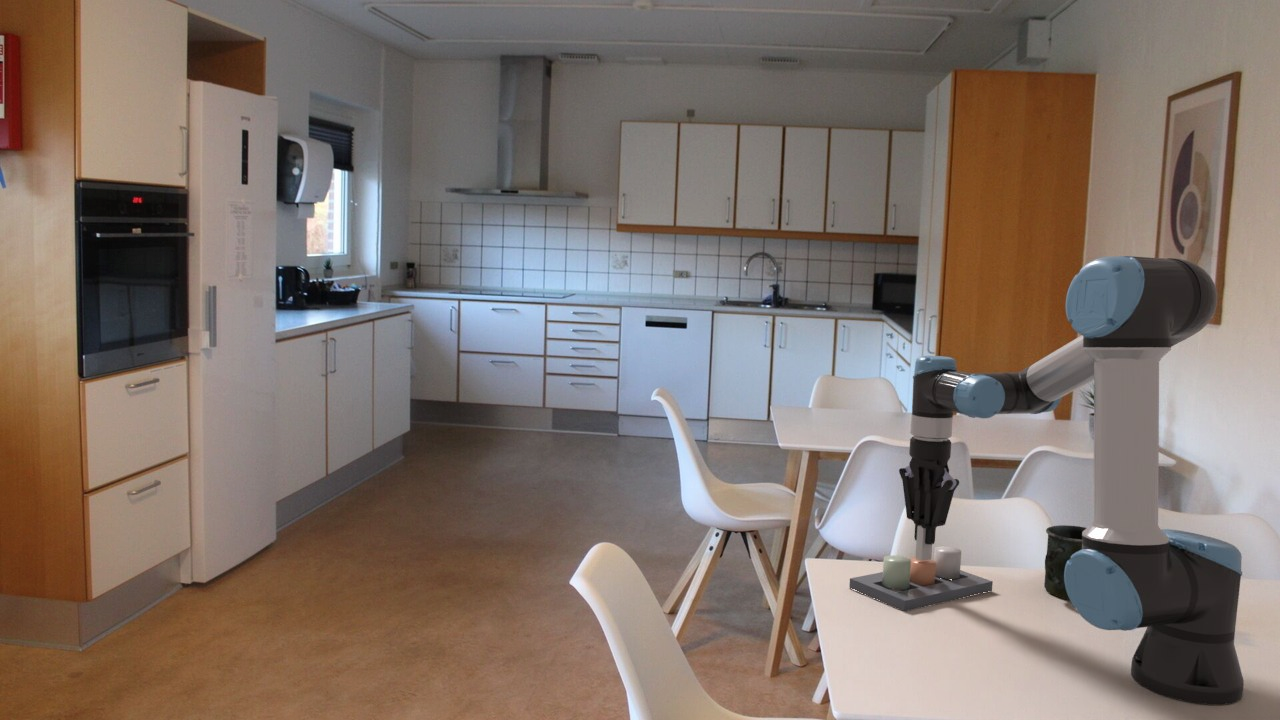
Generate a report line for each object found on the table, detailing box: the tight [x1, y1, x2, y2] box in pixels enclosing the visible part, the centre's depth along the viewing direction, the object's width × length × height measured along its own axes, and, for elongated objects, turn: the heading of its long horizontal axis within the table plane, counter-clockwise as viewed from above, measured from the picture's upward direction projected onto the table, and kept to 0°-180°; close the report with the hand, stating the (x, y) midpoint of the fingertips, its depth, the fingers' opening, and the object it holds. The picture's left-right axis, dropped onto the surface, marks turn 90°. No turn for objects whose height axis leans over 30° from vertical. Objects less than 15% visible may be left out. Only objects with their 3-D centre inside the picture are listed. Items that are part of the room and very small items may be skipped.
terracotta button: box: [909, 557, 936, 587], centre depth 196 cm, size 5×5×5 cm
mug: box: [1043, 524, 1087, 600], centre depth 196 cm, size 11×15×12 cm
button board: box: [849, 569, 994, 612], centre depth 196 cm, size 14×24×2 cm, turn 122°
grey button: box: [933, 545, 962, 580], centre depth 199 cm, size 5×5×5 cm
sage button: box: [882, 555, 911, 591], centre depth 192 cm, size 5×5×5 cm
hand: (923, 559), depth 195 cm, fingers closed
